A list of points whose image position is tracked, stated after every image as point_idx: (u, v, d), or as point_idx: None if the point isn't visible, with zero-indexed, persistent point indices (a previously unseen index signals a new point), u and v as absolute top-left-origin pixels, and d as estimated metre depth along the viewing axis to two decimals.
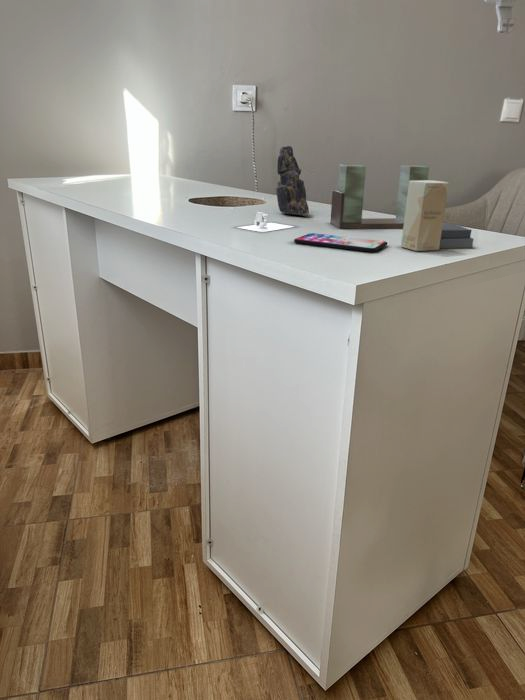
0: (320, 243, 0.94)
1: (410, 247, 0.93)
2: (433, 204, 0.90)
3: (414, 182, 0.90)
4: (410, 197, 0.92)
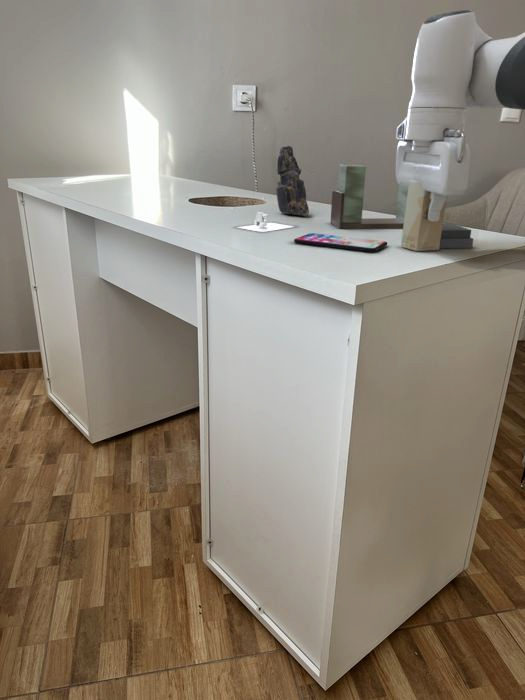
0: (320, 243, 0.94)
1: (410, 247, 0.93)
2: None
3: (414, 182, 0.90)
4: (410, 197, 0.92)
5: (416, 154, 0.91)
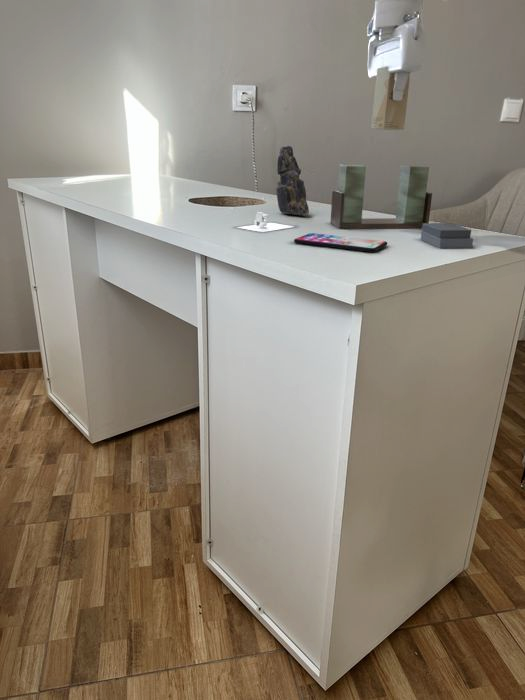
0: (320, 243, 0.94)
1: (378, 127, 1.08)
2: None
3: (381, 68, 1.06)
4: (378, 82, 1.07)
5: (383, 45, 1.06)
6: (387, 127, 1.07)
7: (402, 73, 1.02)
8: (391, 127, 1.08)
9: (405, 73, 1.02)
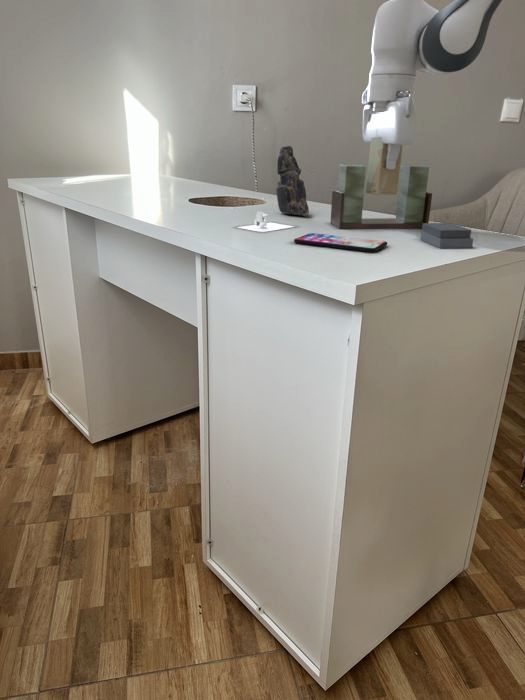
0: (320, 243, 0.94)
1: (372, 192, 1.13)
2: None
3: (375, 137, 1.10)
4: (372, 150, 1.11)
5: (377, 115, 1.11)
6: (381, 193, 1.12)
7: (395, 145, 1.06)
8: (384, 193, 1.12)
9: (398, 145, 1.06)
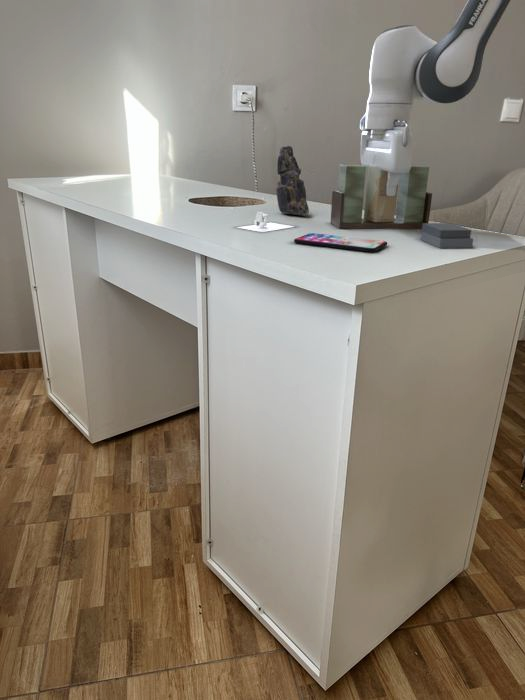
0: (320, 243, 0.94)
1: (370, 219, 1.15)
2: None
3: (372, 166, 1.12)
4: (369, 178, 1.13)
5: (375, 141, 1.13)
6: (378, 220, 1.14)
7: (395, 172, 1.07)
8: (382, 220, 1.14)
9: (398, 172, 1.07)
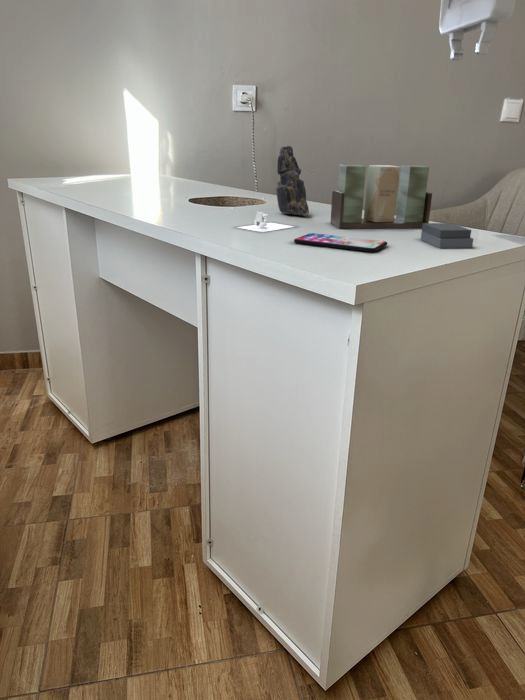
0: (320, 243, 0.94)
1: (370, 219, 1.15)
2: (387, 184, 1.12)
3: (372, 166, 1.12)
4: (369, 178, 1.13)
5: None
6: (378, 220, 1.14)
7: (491, 22, 0.92)
8: (382, 220, 1.14)
9: (494, 22, 0.92)
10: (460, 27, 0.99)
